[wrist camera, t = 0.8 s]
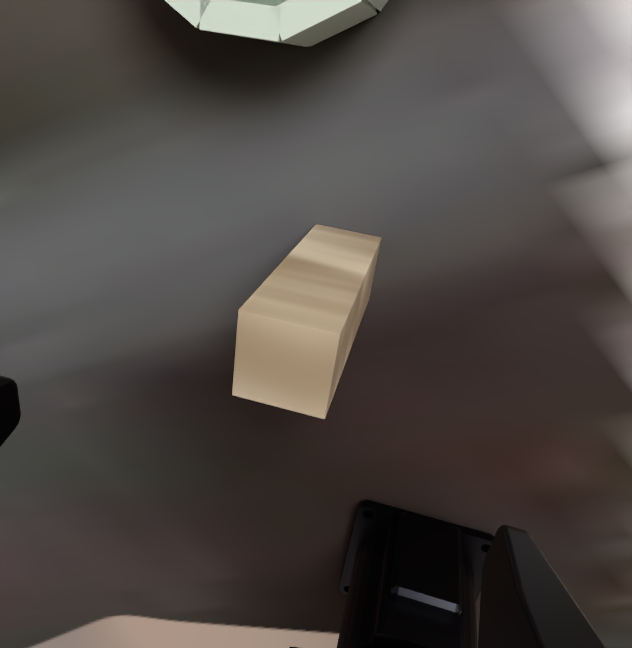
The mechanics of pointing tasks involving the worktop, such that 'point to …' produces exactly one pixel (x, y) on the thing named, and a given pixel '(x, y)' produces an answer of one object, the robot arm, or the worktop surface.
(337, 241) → the wooden square beam
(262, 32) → the light green piece
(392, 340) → the worktop surface
